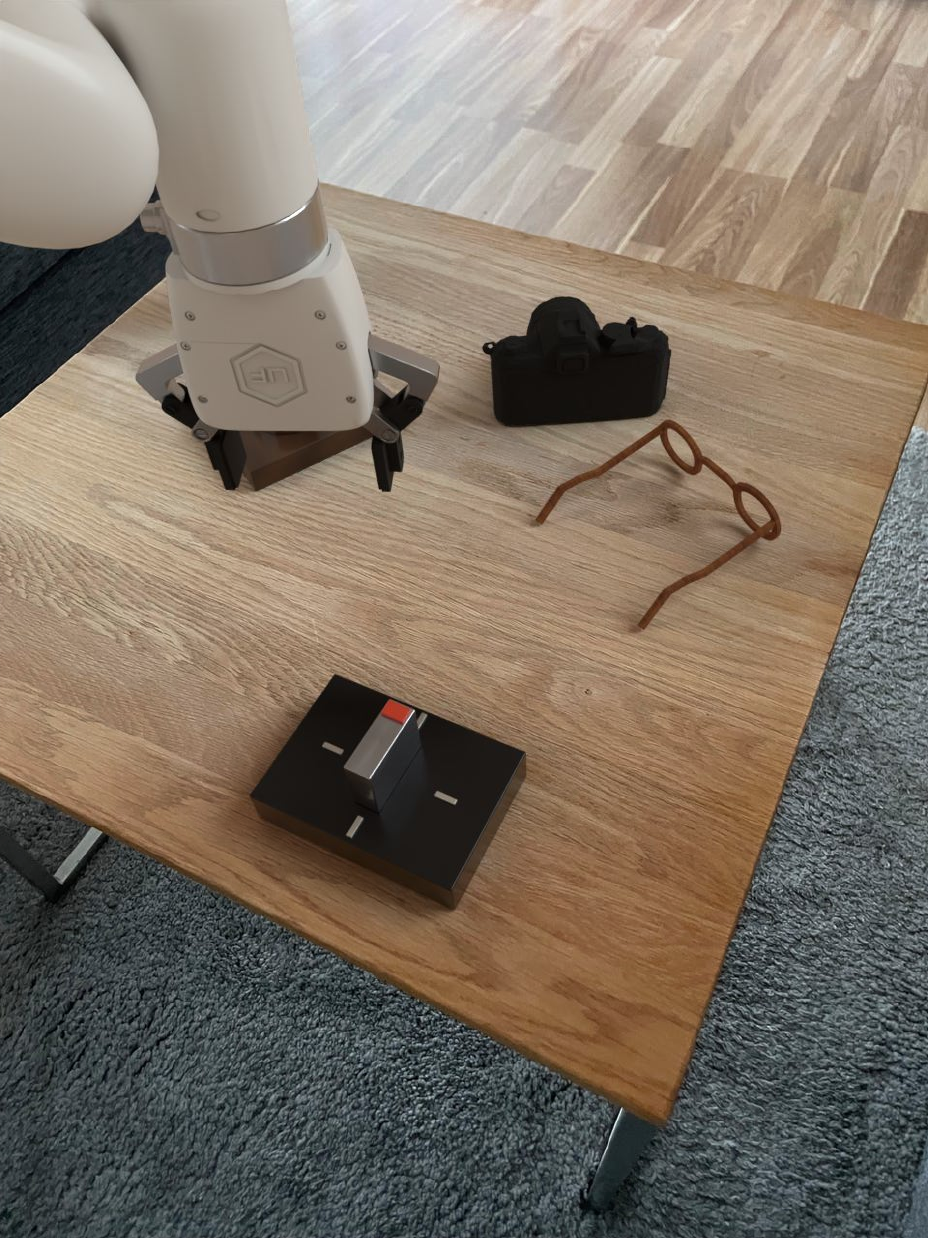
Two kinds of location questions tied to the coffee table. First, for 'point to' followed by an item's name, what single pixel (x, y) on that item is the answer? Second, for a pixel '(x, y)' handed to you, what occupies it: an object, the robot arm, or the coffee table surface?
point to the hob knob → (383, 755)
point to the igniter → (292, 451)
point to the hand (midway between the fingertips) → (312, 475)
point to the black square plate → (393, 794)
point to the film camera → (577, 368)
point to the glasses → (698, 462)
